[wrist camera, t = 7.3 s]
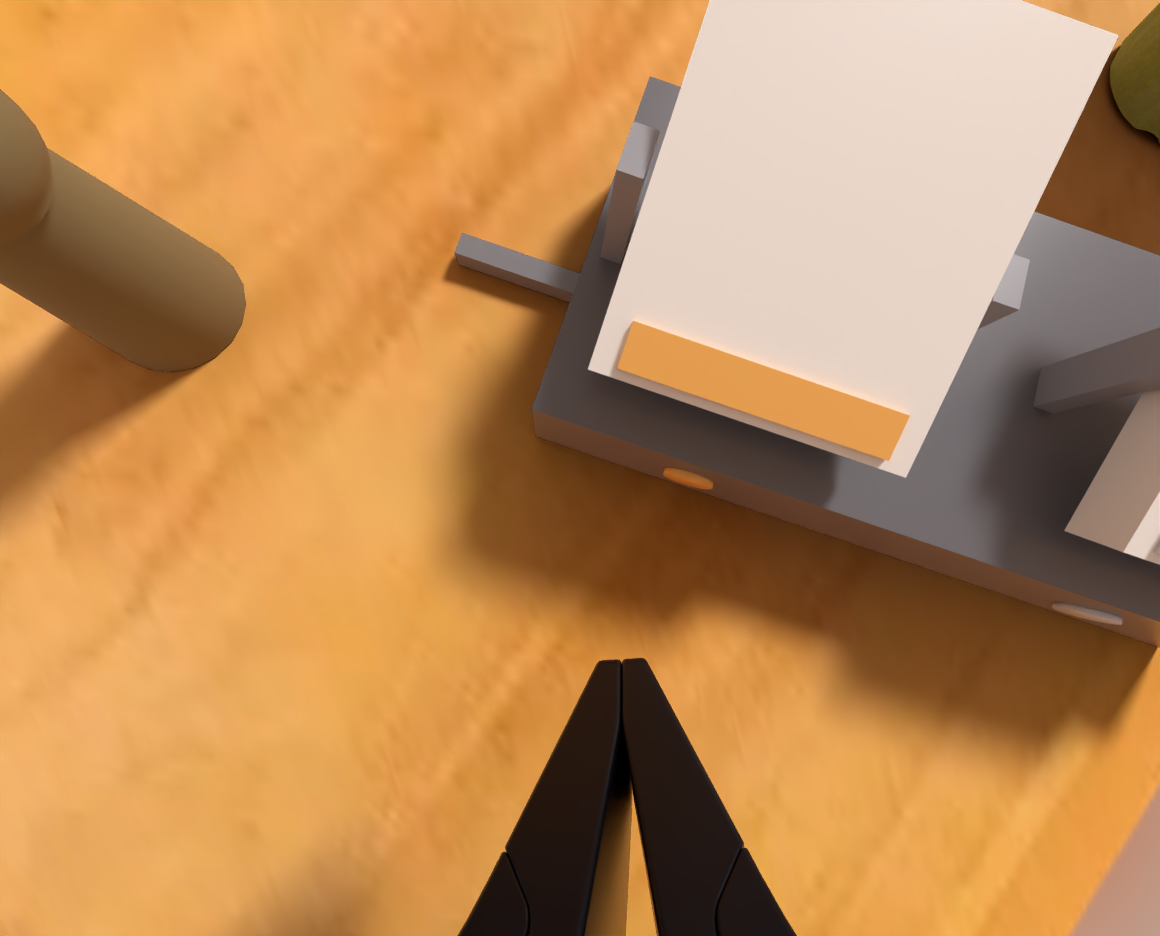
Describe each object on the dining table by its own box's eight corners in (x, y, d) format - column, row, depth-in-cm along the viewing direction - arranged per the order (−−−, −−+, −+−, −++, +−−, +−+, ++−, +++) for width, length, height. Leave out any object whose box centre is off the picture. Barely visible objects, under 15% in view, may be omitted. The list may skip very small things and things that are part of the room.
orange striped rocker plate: (871, 465, 17) (910, 479, 15) (589, 369, 17) (587, 369, 15) (1049, 79, 15) (1127, 29, 12) (723, -37, 14) (744, -108, 12)
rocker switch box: (1158, 651, 23) (1579, 732, 14) (405, 397, 22) (302, 298, 13) (1202, 367, 25) (1595, 268, 16) (512, 127, 24) (489, -127, 15)
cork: (218, 387, 22) (-107, 244, 11) (80, 351, 22) (-385, 170, 11) (264, 262, 23) (6, 16, 12) (133, 226, 23) (-252, -57, 12)
